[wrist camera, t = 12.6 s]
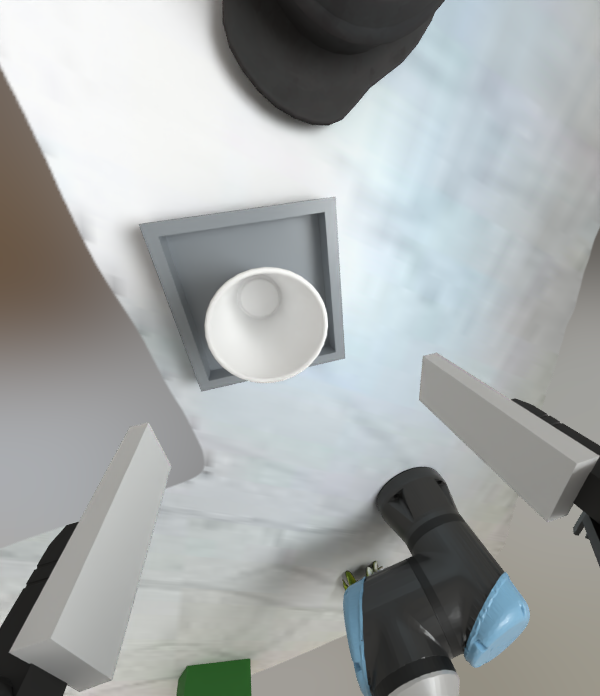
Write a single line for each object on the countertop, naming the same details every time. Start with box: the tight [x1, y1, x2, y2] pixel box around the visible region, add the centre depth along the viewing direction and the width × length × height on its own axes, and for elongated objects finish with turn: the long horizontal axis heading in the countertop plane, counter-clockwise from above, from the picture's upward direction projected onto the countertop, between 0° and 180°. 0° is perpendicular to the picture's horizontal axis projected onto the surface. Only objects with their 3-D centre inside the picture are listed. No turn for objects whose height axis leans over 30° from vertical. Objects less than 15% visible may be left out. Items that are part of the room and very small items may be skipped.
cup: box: [204, 267, 328, 383], centre depth 26 cm, size 10×10×11 cm
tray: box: [139, 197, 345, 391], centre depth 30 cm, size 18×18×4 cm
